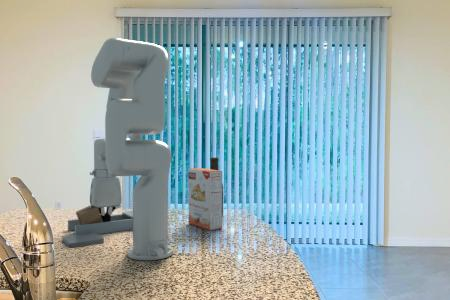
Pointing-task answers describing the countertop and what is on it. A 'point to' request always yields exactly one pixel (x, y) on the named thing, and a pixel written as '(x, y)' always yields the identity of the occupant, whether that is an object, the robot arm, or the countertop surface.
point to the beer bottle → (215, 167)
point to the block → (89, 215)
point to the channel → (104, 224)
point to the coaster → (82, 239)
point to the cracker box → (205, 198)
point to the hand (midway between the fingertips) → (105, 225)
